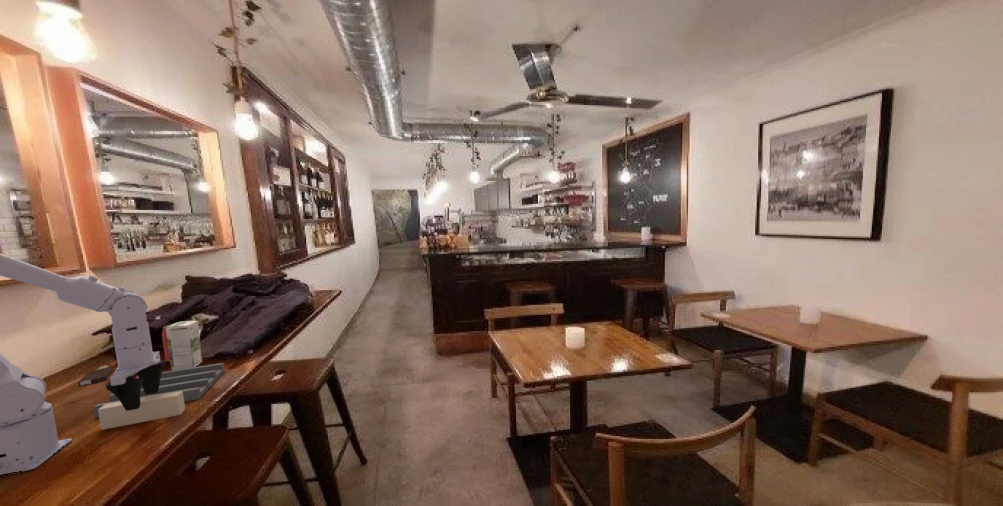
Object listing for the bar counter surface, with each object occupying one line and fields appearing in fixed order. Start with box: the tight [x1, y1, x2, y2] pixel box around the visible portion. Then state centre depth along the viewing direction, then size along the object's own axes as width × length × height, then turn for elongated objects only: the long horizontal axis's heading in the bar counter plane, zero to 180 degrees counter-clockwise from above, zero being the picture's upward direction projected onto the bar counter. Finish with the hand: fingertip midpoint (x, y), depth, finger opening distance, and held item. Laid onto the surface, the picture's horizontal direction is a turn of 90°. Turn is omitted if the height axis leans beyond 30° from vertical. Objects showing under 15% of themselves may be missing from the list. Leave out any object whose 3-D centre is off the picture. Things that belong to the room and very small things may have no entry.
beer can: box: [161, 322, 176, 361], centre depth 117 cm, size 7×7×12 cm
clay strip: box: [98, 391, 186, 431], centre depth 82 cm, size 14×2×5 cm, turn 112°
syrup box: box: [166, 320, 203, 371], centre depth 110 cm, size 6×6×14 cm
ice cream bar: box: [78, 364, 114, 387], centre depth 107 cm, size 5×2×15 cm
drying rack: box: [93, 362, 226, 419], centre depth 95 cm, size 18×20×3 cm
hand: (142, 400), depth 82 cm, fingers open, 7 cm apart
